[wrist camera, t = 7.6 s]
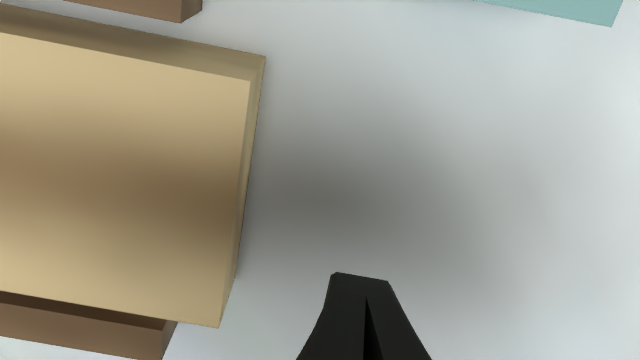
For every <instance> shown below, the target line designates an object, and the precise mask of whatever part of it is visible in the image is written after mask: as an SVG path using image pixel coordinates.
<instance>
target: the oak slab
mask: <svg viewBox="0 0 640 360" xmlns="http://www.w3.org/2000/svg"><path fill="white" fill-rule="evenodd" d="M265 57H266V56H262V55H257V54H252V53H247V52H242V51H237V50H232V49H227V48H222V47H217V46H212V45H207V44H202V43H197V42H192V41H187V40H182V39H177V38H172V37H167V36H161V35H156V34H151V33H146V32H141V31H136V30H131V29H126V28H121V27H116V26H111V25H106V24H101V23H96V22H91V21H86V20H81V19H76V18H71V17H66V16H61V15H56V14H51V13H46V12H41V11H36V10H31V9H26V8H21V7H16V6H11V5H6V4H1V3H0V290H1V291H6V292H12V293H18V294H24V295H29V296H35V297H41V298H47V299H52V300H58V301H64V302H69V303H75V304H81V305H87V306H92V307H98V308H104V309H110V310H115V311H121V312H127V313H133V314H138V315H144V316H150V317H155V318H161V319H167V320H173V321H178V322H184V323H190V324H196V325H201V326H207V327H213V328H218V329H219V326H220V323H221V320H222V316H223V313H224V310H225V307H226V304H227V301H228V297H229V294H230V291H231V288H232V285H233V281H234V278H235V273H236V266H237V259H238V251H239V244H240V237H241V230H242V223H243V216H244V208H245V201H246V194H247V187H248V180H249V172H250V165H251V158H252V151H253V144H254V136H255V129H256V122H257V115H258V108H259V101H260V93H261V86H262V79H263V72H264V65H265Z"/></svg>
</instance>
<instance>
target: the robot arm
mask: <svg viewBox="0 0 640 360" xmlns="http://www.w3.org/2000/svg"><path fill="white" fill-rule="evenodd" d="M296 360H432V359H431V357H430V356H429V354H428V353H427V351H426V349H425V348H424V346H423V344H422V343H421V341H420V339H419V338H418V336H417V334H416V333H415V331H414V329H413V327H412V326H411V324H410V322H409V320H408V318H407V316H406V315H405V313H404V311H403V309H402V307H401V305H400V303H399V301H398V299H397V297H396V295H395V293H394V291H393V289H392V287H391V285H390V284H389V282H388V281H385V280H380V279H374V278H368V277H362V276H357V275H351V274H345V273H340V272H336V273H334V274H332V275H331V277H330V281H329V285H328V290H327V294H326V298H325V303H324V307H323V310H322V312H321V314H320V316H319V318H318V320H317V323H316V325H315V327H314V329H313V331H312V333H311V335H310V336H309V338H308V340H307V342H306V343H305V345H304V347H303V349H302V351H301V352H300V354H299V356H298V357H297V359H296Z"/></svg>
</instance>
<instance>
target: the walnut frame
mask: <svg viewBox="0 0 640 360" xmlns="http://www.w3.org/2000/svg"><path fill="white" fill-rule="evenodd" d="M64 1H69V2H74V3H79V4H84V5H89V6H94V7H99V8H104V9H109V10H114V11H119V12H124V13H129V14H134V15H139V16H144V17H150V18H155V19H160V20H165V21H170V22H175V23H182V22H184V21H185V20H187V19H189V18H190V17H192V16H193V15H195V14H197V13H198V12H200V11H201V10H202V0H64ZM177 323H178V321H173V320H167V319H161V318H155V317H150V316H144V315H138V314H133V313H127V312H121V311H115V310H110V309H104V308H98V307H92V306H87V305H81V304H75V303H69V302H64V301H58V300H52V299H47V298H41V297H35V296H29V295H24V294H18V293H12V292H6V291H1V290H0V336H3V337H9V338H15V339H21V340H27V341H32V342H38V343H44V344H50V345H56V346H62V347H67V348H73V349H79V350H85V351H91V352H96V353H102V354H108V355H114V356H120V357H125V358H131V359H137V360H162V358H163V356H164V354H165V351H166V349H167V347H168V344H169V342H170V339H171V337H172V335H173V332H174V330H175V328H176V325H177Z"/></svg>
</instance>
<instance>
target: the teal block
mask: <svg viewBox="0 0 640 360" xmlns="http://www.w3.org/2000/svg"><path fill="white" fill-rule="evenodd" d="M474 1H479V2H485V3H490V4H495V5H500V6H505V7H510V8H515V9H520V10H525V11H530V12H535V13H541V14H546V15H551V16H556V17H561V18H566V19H571V20H576V21H581V22H586V23H591V24H596V25H602V26H607V27H612V25H613V23H614V20H615V18H616V16H617V13H618V11H619V9H620V6H621V4H622V2H623V0H474Z"/></svg>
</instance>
